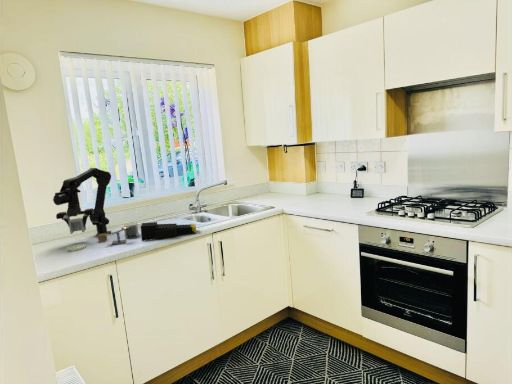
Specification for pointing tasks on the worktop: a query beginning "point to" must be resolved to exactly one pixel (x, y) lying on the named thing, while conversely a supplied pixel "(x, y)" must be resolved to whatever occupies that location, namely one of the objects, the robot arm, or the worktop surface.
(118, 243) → the balance
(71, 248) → the dish
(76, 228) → the cover
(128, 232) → the cover
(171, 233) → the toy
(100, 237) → the block
